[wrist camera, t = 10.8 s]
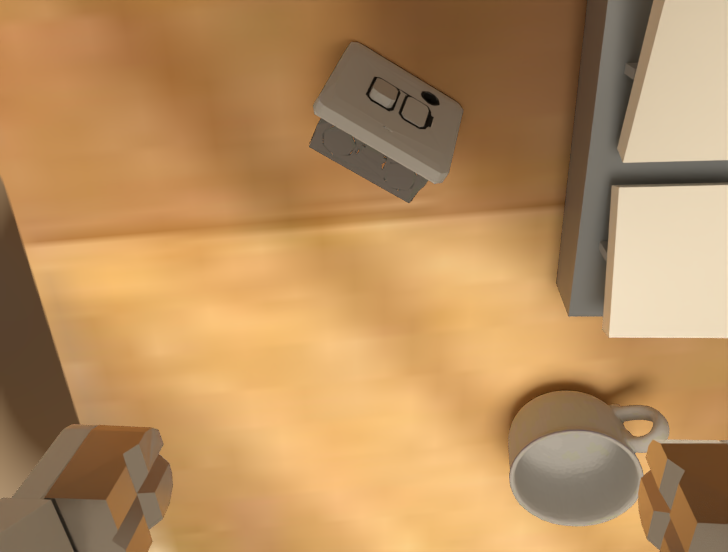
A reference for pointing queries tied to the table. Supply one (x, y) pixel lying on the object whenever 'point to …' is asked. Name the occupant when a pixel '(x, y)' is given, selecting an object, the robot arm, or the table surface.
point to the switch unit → (607, 150)
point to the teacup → (578, 457)
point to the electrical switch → (385, 123)
